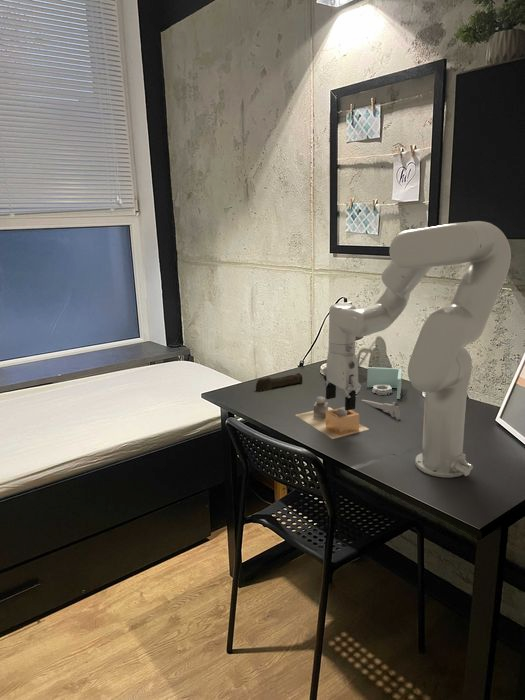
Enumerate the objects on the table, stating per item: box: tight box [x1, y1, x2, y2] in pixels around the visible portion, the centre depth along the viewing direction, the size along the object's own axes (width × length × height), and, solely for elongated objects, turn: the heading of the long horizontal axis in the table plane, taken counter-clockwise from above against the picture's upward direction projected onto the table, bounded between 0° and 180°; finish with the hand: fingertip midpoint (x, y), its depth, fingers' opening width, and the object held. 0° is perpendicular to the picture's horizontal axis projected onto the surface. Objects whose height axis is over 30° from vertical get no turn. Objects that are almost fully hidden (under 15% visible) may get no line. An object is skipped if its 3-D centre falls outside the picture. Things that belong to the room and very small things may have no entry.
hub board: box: [295, 396, 370, 440], centre depth 156 cm, size 21×13×7 cm, turn 27°
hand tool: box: [255, 372, 303, 392], centre depth 193 cm, size 19×4×5 cm, turn 114°
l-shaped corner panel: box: [366, 366, 403, 400], centre depth 181 cm, size 12×12×8 cm
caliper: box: [360, 399, 401, 420], centre depth 165 cm, size 20×1×6 cm, turn 25°
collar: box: [326, 406, 360, 435], centre depth 151 cm, size 7×7×5 cm
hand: (340, 403), depth 150 cm, fingers open, 9 cm apart
